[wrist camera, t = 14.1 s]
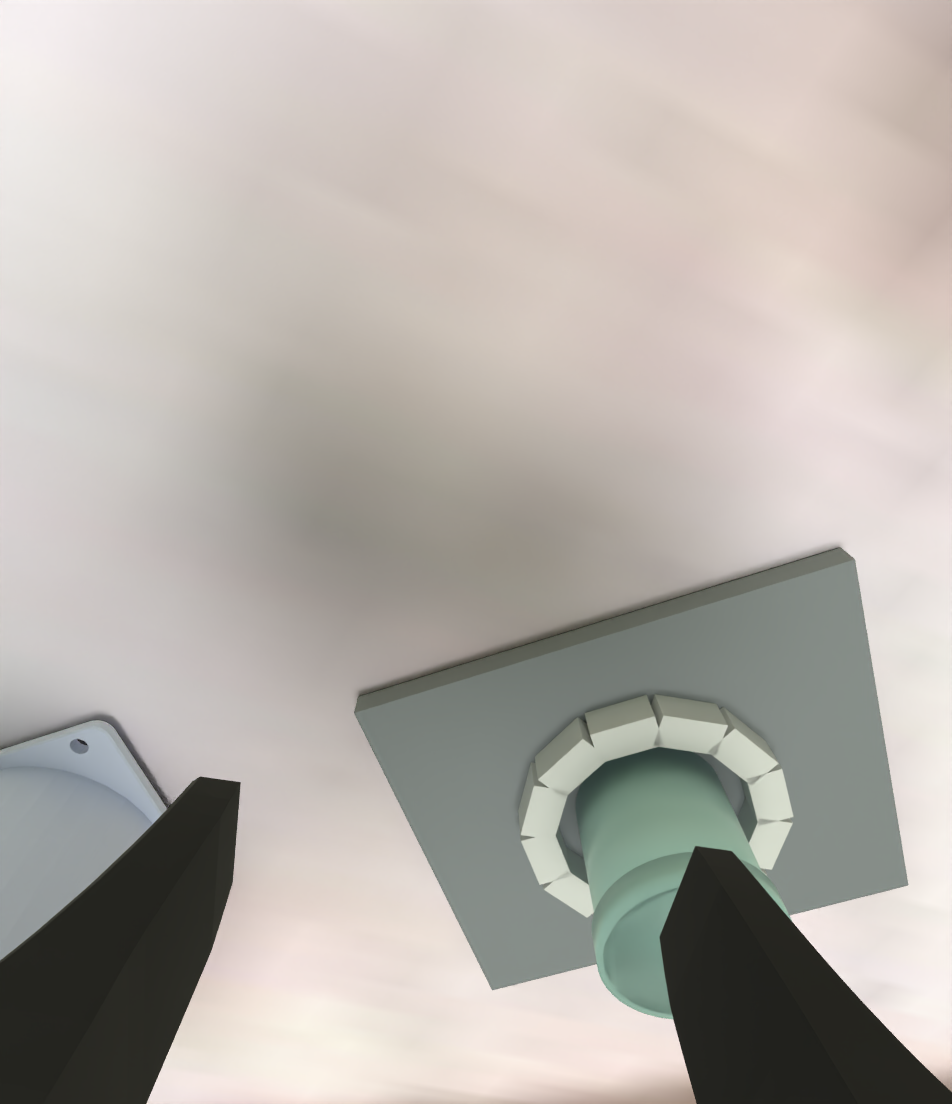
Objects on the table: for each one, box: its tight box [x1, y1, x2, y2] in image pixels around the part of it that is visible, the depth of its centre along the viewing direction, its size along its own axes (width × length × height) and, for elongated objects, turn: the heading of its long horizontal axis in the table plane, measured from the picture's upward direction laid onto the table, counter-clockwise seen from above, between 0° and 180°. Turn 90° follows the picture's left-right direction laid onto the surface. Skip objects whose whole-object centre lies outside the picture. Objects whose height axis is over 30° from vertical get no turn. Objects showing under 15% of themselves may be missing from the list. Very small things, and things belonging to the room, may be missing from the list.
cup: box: [575, 747, 792, 1019], centre depth 20 cm, size 5×5×5 cm
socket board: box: [354, 548, 908, 990], centre depth 22 cm, size 14×12×2 cm
